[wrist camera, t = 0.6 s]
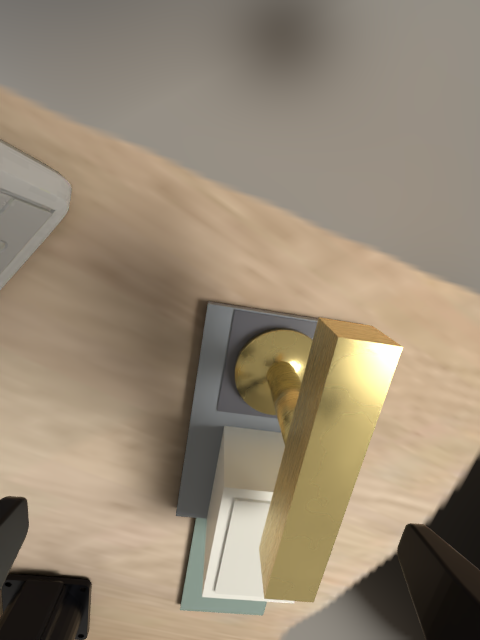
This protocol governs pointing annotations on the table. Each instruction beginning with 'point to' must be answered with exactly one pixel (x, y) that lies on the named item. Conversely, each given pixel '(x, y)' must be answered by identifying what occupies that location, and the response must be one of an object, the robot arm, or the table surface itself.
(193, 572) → the pad
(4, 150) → the digital clock
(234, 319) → the base plate
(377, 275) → the table surface
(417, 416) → the table surface
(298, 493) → the brass door handle
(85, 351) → the table surface
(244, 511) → the cover
